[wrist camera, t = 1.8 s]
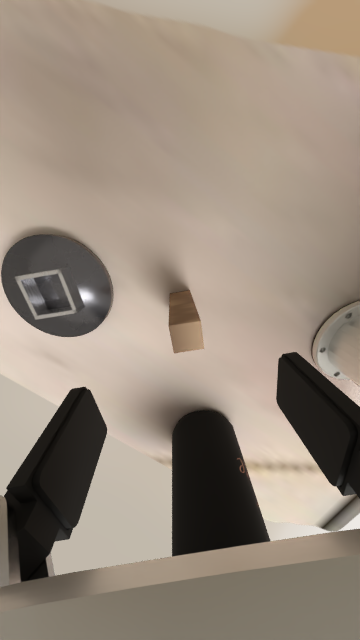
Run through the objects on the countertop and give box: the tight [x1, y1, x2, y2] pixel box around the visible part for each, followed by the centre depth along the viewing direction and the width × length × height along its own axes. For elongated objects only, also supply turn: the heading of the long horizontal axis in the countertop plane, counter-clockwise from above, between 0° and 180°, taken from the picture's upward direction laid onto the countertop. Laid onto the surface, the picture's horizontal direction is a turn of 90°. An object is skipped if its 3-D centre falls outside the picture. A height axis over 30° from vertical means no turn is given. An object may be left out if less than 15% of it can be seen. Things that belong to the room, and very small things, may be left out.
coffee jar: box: [172, 411, 270, 557], centre depth 25 cm, size 11×11×18 cm
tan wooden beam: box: [169, 290, 204, 353], centre depth 20 cm, size 2×2×10 cm
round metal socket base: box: [1, 235, 113, 337], centre depth 22 cm, size 12×12×3 cm
